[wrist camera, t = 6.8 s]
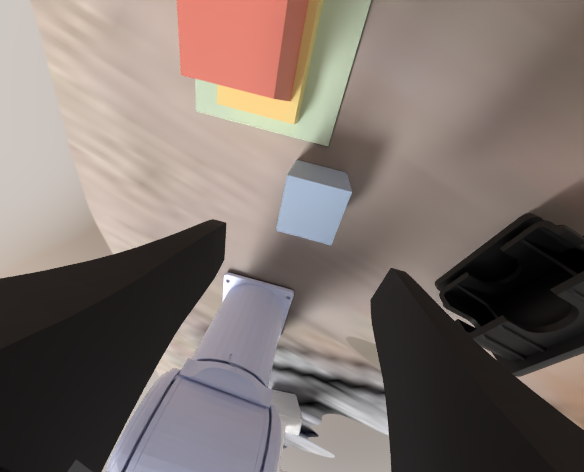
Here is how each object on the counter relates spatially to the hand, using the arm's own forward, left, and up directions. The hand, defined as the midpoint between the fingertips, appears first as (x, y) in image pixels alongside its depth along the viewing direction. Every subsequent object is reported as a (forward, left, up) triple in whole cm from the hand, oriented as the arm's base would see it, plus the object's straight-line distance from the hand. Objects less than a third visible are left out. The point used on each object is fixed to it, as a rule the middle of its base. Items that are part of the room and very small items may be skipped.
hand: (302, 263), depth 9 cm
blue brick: (0, 0, -10) cm, 10 cm away
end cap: (-3, -18, -10) cm, 21 cm away
